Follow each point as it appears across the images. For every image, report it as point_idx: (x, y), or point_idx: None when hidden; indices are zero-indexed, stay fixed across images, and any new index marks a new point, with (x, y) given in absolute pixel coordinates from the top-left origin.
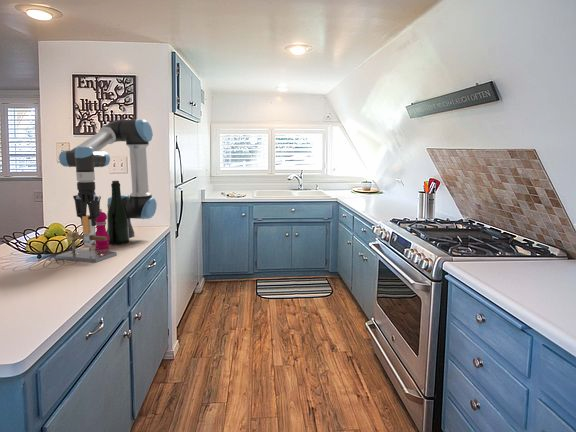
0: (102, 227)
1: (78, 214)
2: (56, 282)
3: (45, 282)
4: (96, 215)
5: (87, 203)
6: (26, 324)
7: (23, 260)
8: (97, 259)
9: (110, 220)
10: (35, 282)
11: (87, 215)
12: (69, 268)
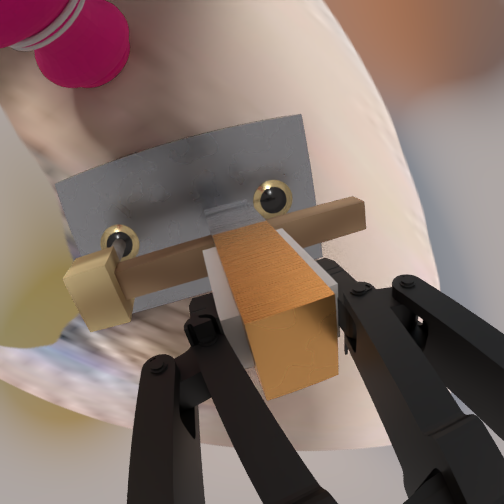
0: (80, 17)
1: (194, 419)
2: (362, 395)
3: (341, 408)
4: (422, 325)
5: (415, 486)
6: None
7: (61, 373)
8: (319, 246)
9: None
10: (322, 419)
11: (279, 353)
12: None
